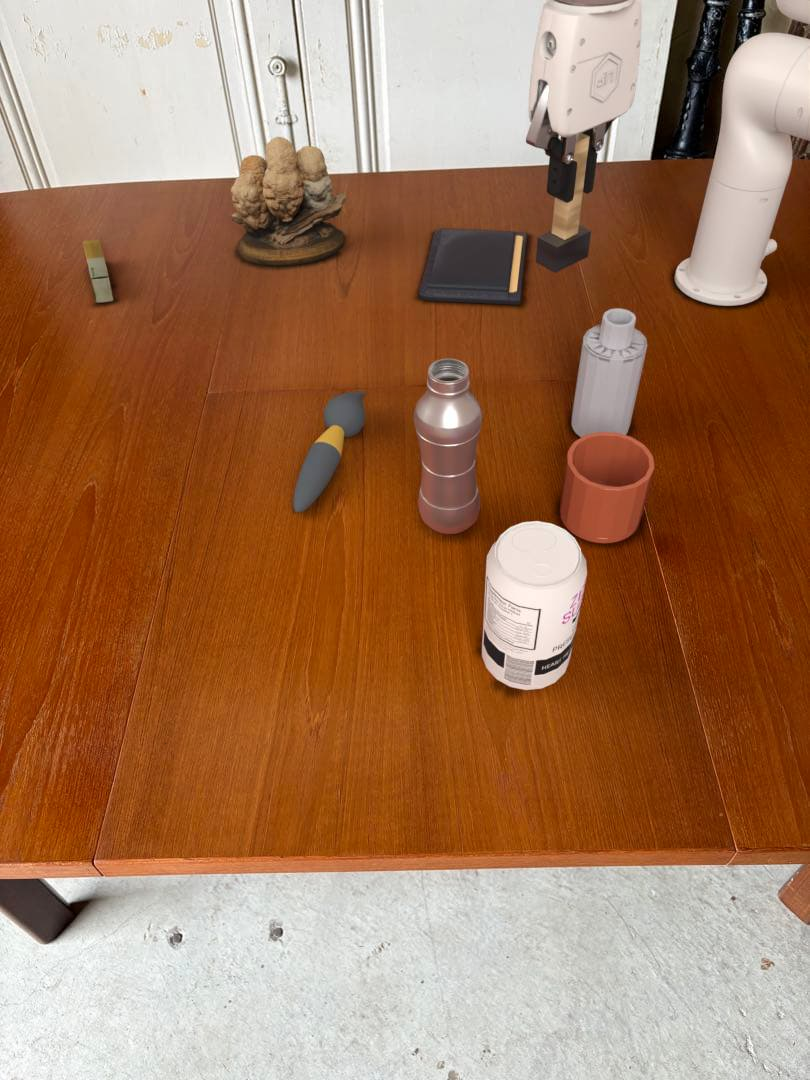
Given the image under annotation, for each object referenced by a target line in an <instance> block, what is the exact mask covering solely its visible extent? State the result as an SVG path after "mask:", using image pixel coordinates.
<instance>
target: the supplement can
mask: <svg viewBox="0 0 810 1080" xmlns="http://www.w3.org/2000/svg"><path fill="white" fill-rule="evenodd" d="M485 562H486V564H485V581H484V583H485V584H484V599H483V600H484V601H483V620H482V641H481V658H482V660H483V663H484V666H485V668H486V670H487V671H488V672H489V673H490V674H491V675H492V677H494V678H495V680H497V681H499V682H500V683H503V684H504V685H506V686H508V687H509V688H514V689H519V690H522V691H523V690H524V691H529V690H530V691H531V690H541V689H544V688H546V687H548V686H551V685H553V684H555V683H556V682H557V681H558V680H560V679H561V677H562V676H563V675H565V673H566V671H567V668H568V666H569V664H570V661H571V657H572V651H573V647H574V641H575V637H576V631H577V627H578V620H579V617H580V611H581V606H582V601H583V597H584V592H585V587H586V582H587V576H588V568H587V566H588V565H587V559H586V558H585V556H584V554H583V552H582V548H581V547H580V545H579V542H578V541H577V539H576V538H575V537H574V536H573V535H572V534H571V533H570V532H568V530H567V529H565V528H563V527H560V526H558V525H556V524H553V523H551V522H545V521H539V520H534V521H523V522H520V523H518V524H517V523H516V524H515V525H512V526H510V527H509V528H507V529H505V531H503V533H501V534H500V535H499V537H498V538H497V540H496V541H495V542H493V544H492V545H491V547H490V549H489V551H488V553H487V555H486V561H485Z"/></svg>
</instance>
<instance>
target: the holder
mask: <svg viewBox="0 0 810 1080" xmlns="http://www.w3.org/2000/svg"><path fill="white" fill-rule="evenodd" d="M654 472H655V460H654V455H653V454H652V453H651V451H650V450H649V448H647V446H646V445H645V444H644V443H642V442H641V441H639V440H637V439H636V438H634V437H633V436H629V435H627V434H626V435H623V434H620V433H616V432H597V433H593V434H588V435H585V436H583V437H580V438H578V439H576V440H575V441H574V442H573V443H571V445H570V447H569V449H568V451H567V453H566V460H565V466H564V473H563V480H562V487H561V492H560V501H559V517H560V519H561V521H562V523H563V525H564V527H565V528H566V530H567V531H569V532H570V533H572V534H573V535H575V536H576V537H578V538H580V539H582V540H584V541H588V542H591V543H596V544H612V543H618V542H621V541H624V540H626V539H627V538H629V537H631V536H632V535H633V534H634V533H635V532H636V531H637V530H638V528H639V526H640V523H641V519H642V517H643V514H644V511H645V508H646V507H645V506H646V503H647V499H648V494H649V491H650V488H651V483H652V480H653V475H654Z"/></svg>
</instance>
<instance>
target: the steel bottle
mask: <svg viewBox="0 0 810 1080" xmlns="http://www.w3.org/2000/svg"><path fill="white" fill-rule="evenodd" d="M636 321H637V316H636V315H635V313H634V312H632V311H631V310H628V309H625V308H619V307H618V308H617V307H616V308H610V309H608V310H606V311H604V313H603V315H602V319H601V324H597V325H594V326H593V327H591V328H588V330H586V331H585V333H584V335H583V338H582V343H581V351H580V358H579V365H578V372H577V377H576V378H577V379H576V385H575V393H574V399H573V405H572V411H571V412H572V413H571V428H572V430H573V432H574V433H575V434H576V435H577V436H578V437H580V438H581V437H583V436H585V435H588V434H593V433H597V432H616V433H620V434H623V435H627V434H628V433H629V429H630V427H631V423H632V417H633V414H634V413H633V412H634V409H635V405H636V400H637V396H638V395H637V394H638V390H639V387H640V381H641V377H642V373H643V368H644V363H645V358H646V353H647V350H648V341H647V338H646V336H645V335H644V334H643V333H642V332H641V331H640V330H638V329H637V328H635V326H636Z"/></svg>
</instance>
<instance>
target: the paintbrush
mask: <svg viewBox="0 0 810 1080" xmlns="http://www.w3.org/2000/svg"><path fill="white" fill-rule="evenodd" d="M366 392H367V391H350V392H349V391H348V392H344V393H340V394H338V395H335V396H334V397H333V398H331V399H330V400H329V401H328V402H327V403H326V405H325V407H324V410H323V422H324V426H325V427H326V430H325V431H323V433H322V434H321V435H320V436H319V437H318V438H317V439H316V440H315V441H314V442H313V443H312V445H311V447H309V450H308V452H307V454H306V456H305V458H304V461H303V463H302V465H301V468H300V471H299V474H298V476H297V481H296V484H295V487H294V492H293V498H292V500H293V501H292V505H293V510H294V511H295V513H298V514H299V513H302V512H304V511H306V510H307V509H309V508H310V507H311V506H312V505H313V504H314V503H315V502H316V501H317V499H319V497H320V495H322V493H323V492H324V490H325V489H326V488H327V486H328V484H329V483H330V482H331V479H332V478H333V476H334V475H335V472H336V471H337V469H338V467H339V464H340V462H341V458H342V454H343V450H344V449H343V448H344V441H345V438H352V437H354V436H356V435H357V434H359V432H361V430H363V428H364V426H365V423H366V410H365V406H364V403H363V399H364V397H365V395H366Z"/></svg>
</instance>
